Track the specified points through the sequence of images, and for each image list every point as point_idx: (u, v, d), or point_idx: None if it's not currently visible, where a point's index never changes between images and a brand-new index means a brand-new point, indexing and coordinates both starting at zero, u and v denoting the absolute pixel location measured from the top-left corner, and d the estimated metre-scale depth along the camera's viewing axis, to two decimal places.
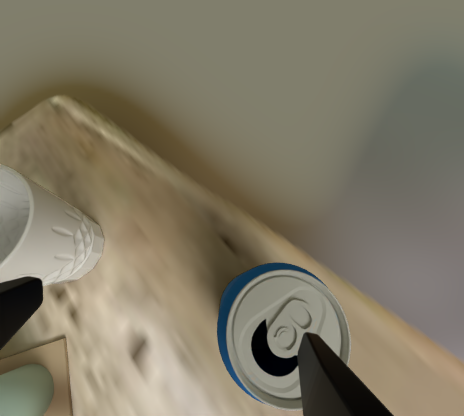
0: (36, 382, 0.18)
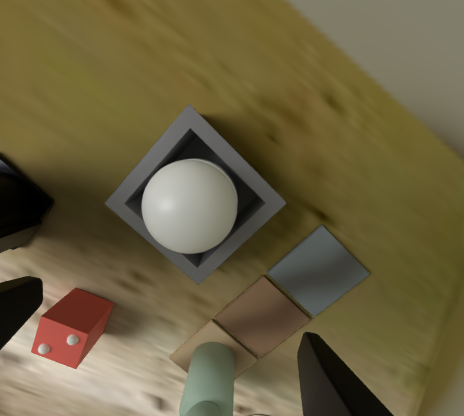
0: None
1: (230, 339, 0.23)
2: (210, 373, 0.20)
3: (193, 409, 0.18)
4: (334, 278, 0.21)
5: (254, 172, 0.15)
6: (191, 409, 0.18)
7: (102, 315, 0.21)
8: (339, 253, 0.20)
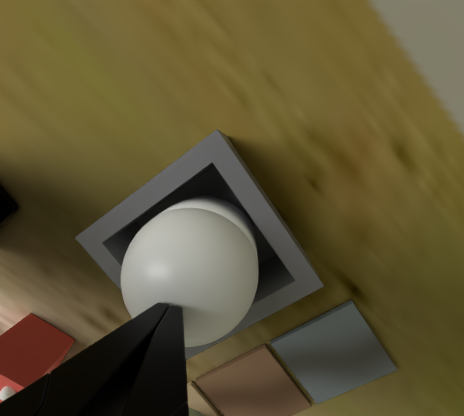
0: None
1: (208, 408, 0.19)
2: None
3: None
4: (352, 365, 0.17)
5: (289, 238, 0.11)
6: None
7: (55, 358, 0.17)
8: (366, 338, 0.16)
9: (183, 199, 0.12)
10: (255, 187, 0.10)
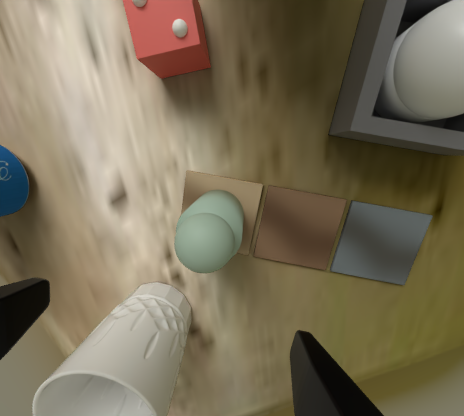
0: None
1: (254, 215, 0.20)
2: (238, 212, 0.16)
3: (218, 216, 0.14)
4: (383, 260, 0.20)
5: None
6: (215, 214, 0.14)
7: (206, 56, 0.16)
8: (411, 248, 0.19)
9: None
10: None
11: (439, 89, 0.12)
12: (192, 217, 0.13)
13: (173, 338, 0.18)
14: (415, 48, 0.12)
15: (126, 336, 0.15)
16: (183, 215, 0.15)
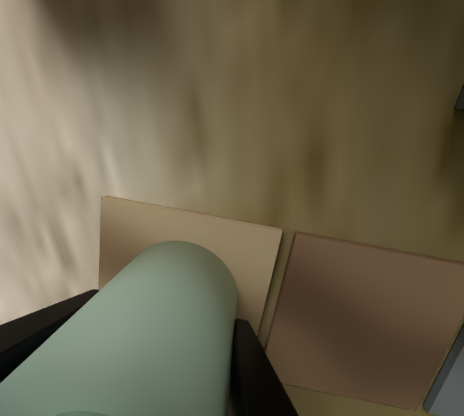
0: None
1: (260, 297, 0.09)
2: (216, 344, 0.05)
3: None
4: None
5: None
6: None
7: None
8: None
9: None
10: None
11: None
12: None
13: None
14: None
15: None
16: None
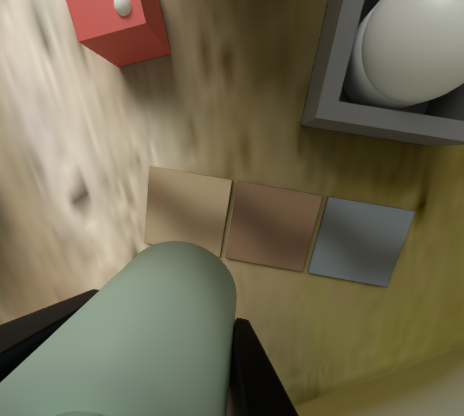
0: None
1: (223, 213, 0.18)
2: (216, 344, 0.05)
3: None
4: (363, 261, 0.19)
5: None
6: None
7: (160, 40, 0.14)
8: (393, 247, 0.18)
9: None
10: None
11: (409, 67, 0.11)
12: None
13: None
14: (382, 22, 0.11)
15: None
16: None
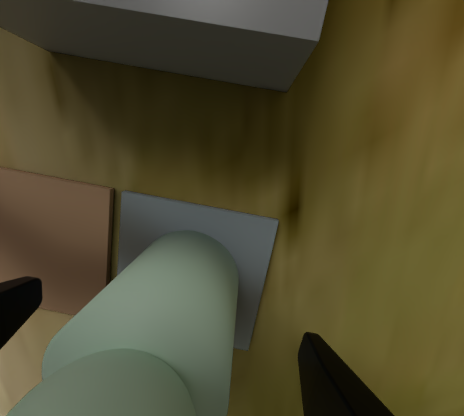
0: None
1: None
2: (223, 309, 0.06)
3: (145, 375, 0.04)
4: None
5: None
6: (135, 367, 0.04)
7: None
8: (249, 284, 0.10)
9: None
10: None
11: None
12: (26, 414, 0.03)
13: None
14: None
15: None
16: (57, 341, 0.05)
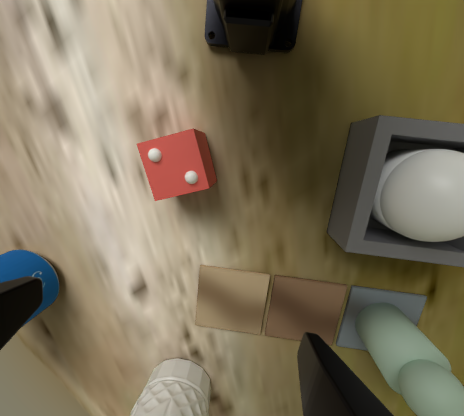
0: (363, 340, 0.20)
1: (263, 301, 0.22)
2: (431, 342, 0.18)
3: (441, 366, 0.15)
4: None
5: None
6: (437, 364, 0.15)
7: (213, 182, 0.18)
8: None
9: None
10: None
11: (420, 231, 0.14)
12: (428, 376, 0.15)
13: None
14: (397, 195, 0.14)
15: None
16: (395, 358, 0.16)
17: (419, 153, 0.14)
